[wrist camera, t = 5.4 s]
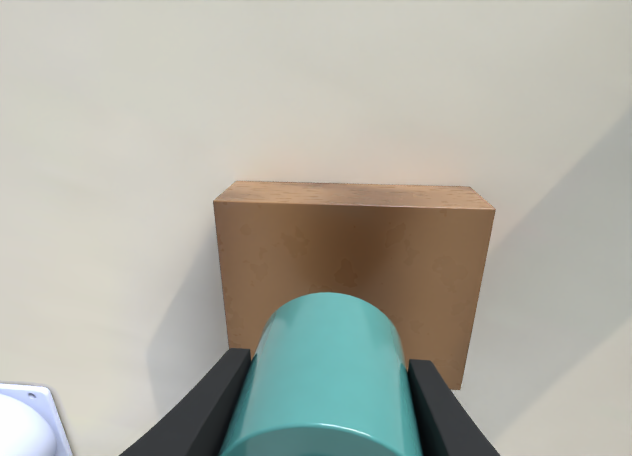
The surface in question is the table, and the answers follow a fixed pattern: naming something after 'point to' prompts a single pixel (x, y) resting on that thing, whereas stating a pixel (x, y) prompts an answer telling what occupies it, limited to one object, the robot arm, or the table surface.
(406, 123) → the table surface
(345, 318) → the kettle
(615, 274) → the table surface
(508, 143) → the table surface
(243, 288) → the tier stand
